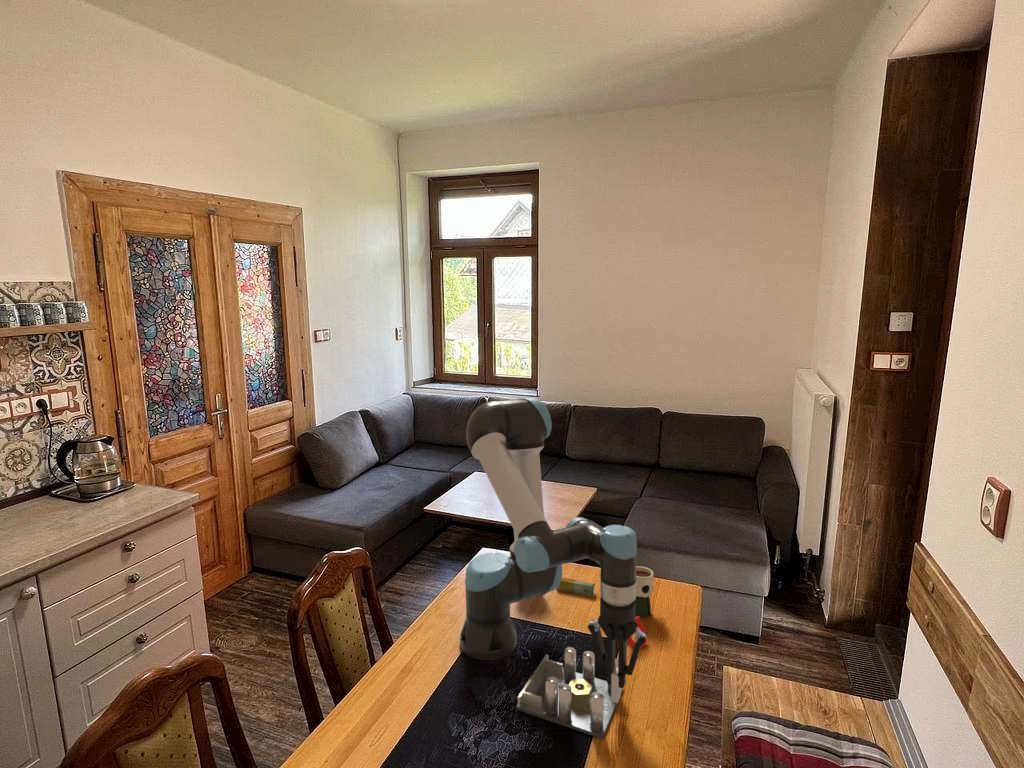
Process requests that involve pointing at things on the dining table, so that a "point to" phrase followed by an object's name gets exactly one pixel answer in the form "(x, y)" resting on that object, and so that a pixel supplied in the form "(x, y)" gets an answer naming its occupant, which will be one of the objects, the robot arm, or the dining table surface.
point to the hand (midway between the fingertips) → (616, 698)
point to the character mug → (643, 591)
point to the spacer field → (568, 695)
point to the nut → (580, 692)
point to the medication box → (576, 587)
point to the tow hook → (640, 629)
